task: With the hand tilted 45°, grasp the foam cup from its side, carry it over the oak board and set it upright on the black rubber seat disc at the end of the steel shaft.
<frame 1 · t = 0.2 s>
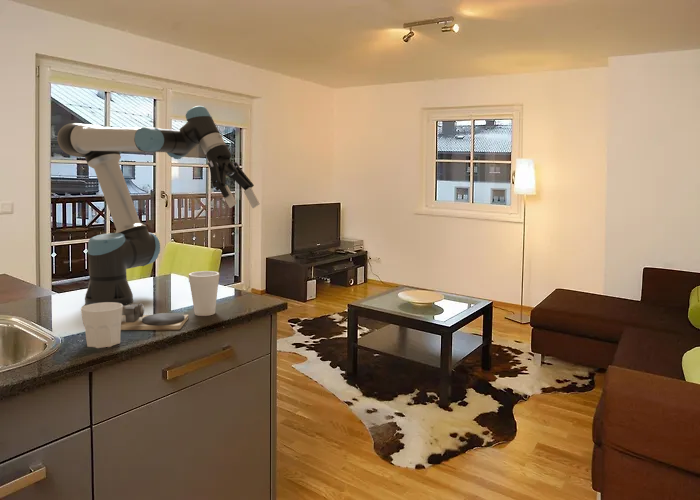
hand: (245, 206, 176), 34 cm above the counter, tool tilted 35°, fingers open, 13 cm apart
shaft stand: (146, 323, 163), on the counter
foam cup: (205, 313, 176), on the counter
cup: (104, 343, 145), on the counter
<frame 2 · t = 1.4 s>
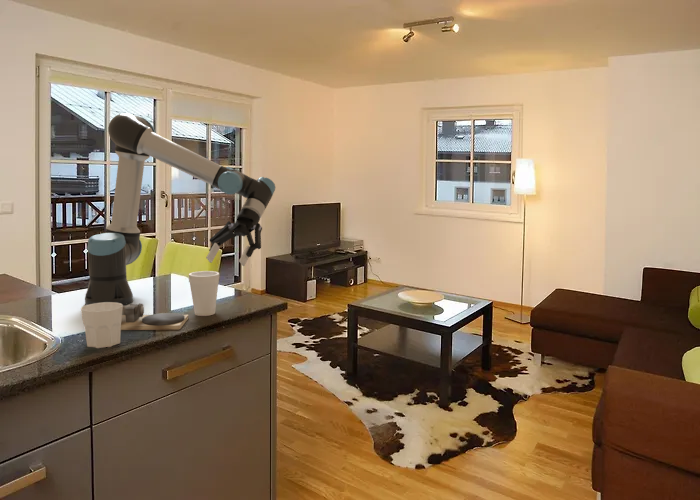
hand: (224, 261, 183), 15 cm above the counter, tool tilted 45°, fingers open, 13 cm apart
nothing on the counter moved.
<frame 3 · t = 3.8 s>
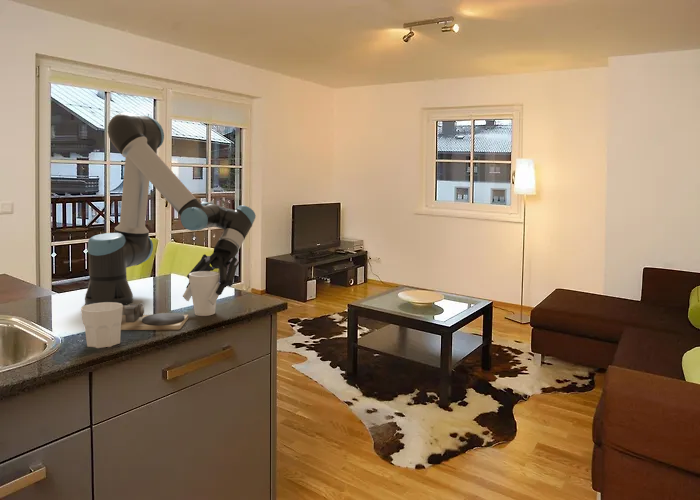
hand: (198, 300, 173), 5 cm above the counter, tool tilted 45°, fingers closed on foam cup, 9 cm apart
foam cup: (205, 313, 176), on the counter, touching gripper
everything else where it was.
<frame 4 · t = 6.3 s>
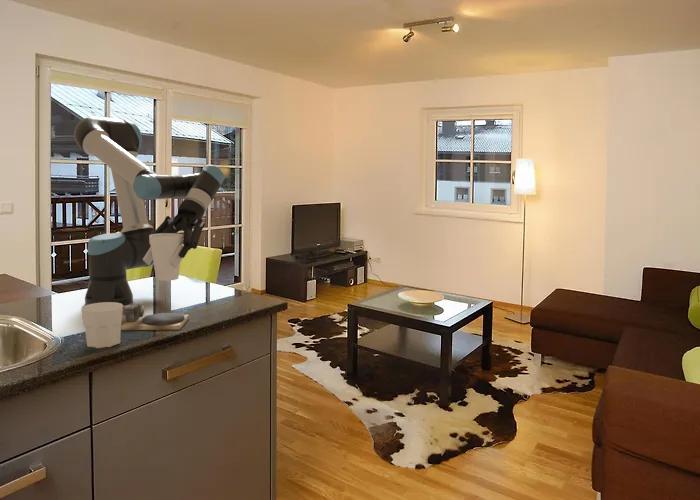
hand: (159, 263, 159), 19 cm above the counter, tool tilted 45°, fingers closed on foam cup, 9 cm apart
foam cup: (167, 279, 163), point 13 cm above the counter, touching gripper
everything else where it was.
when the fingers open (8 cm above the counter, at t = 9.0 s): foam cup drops 1 cm, resting on shaft stand.
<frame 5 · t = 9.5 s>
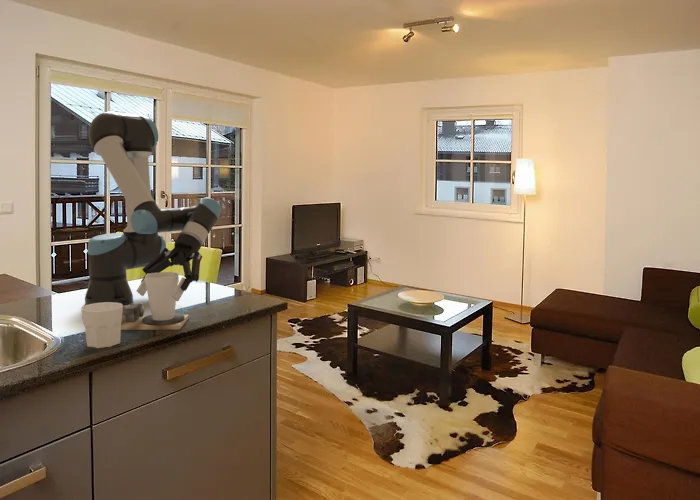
hand: (156, 296, 160), 9 cm above the counter, tool tilted 45°, fingers open, 13 cm apart
foam cup: (163, 318, 163), point 2 cm above the counter, touching shaft stand
everything else where it was.
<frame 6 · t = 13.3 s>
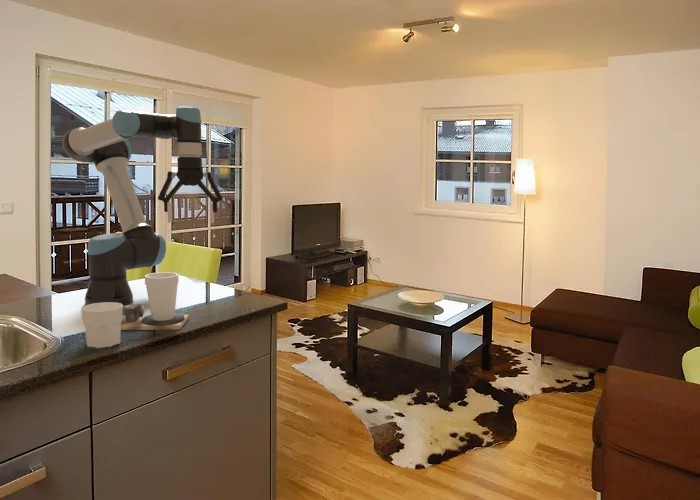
hand: (191, 222, 178), 29 cm above the counter, tool pointing down, fingers open, 13 cm apart
nothing on the counter moved.
at the end: foam cup inside the target area on the shaft stand (0.2 cm from its centre), point 1.6 cm above the shaft stand's base; foam cup tilted 0°; the gripper is holding nothing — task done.
